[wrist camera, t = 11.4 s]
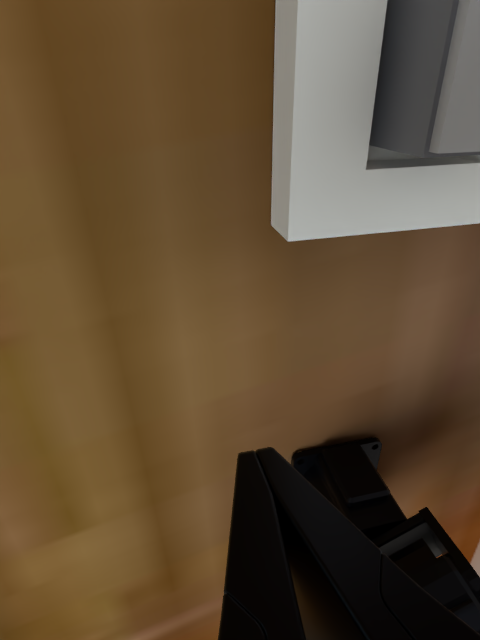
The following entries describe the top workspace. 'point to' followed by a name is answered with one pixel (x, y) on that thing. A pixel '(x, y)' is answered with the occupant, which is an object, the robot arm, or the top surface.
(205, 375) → the top surface
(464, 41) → the plug
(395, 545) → the robot arm
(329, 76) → the socket plate
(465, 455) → the top surface
